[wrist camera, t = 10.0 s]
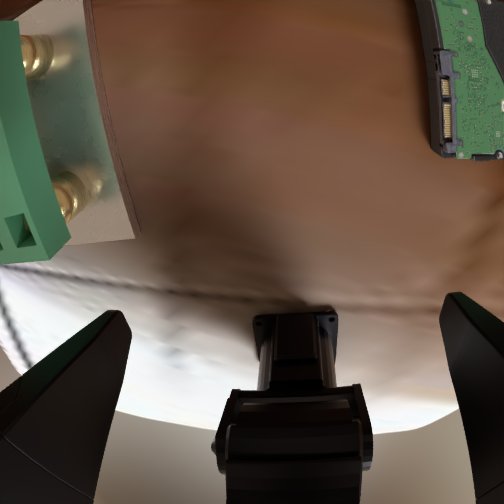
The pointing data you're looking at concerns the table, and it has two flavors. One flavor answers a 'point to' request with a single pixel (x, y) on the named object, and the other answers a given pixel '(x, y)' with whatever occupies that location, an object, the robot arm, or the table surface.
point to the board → (23, 167)
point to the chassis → (75, 121)
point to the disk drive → (464, 76)
